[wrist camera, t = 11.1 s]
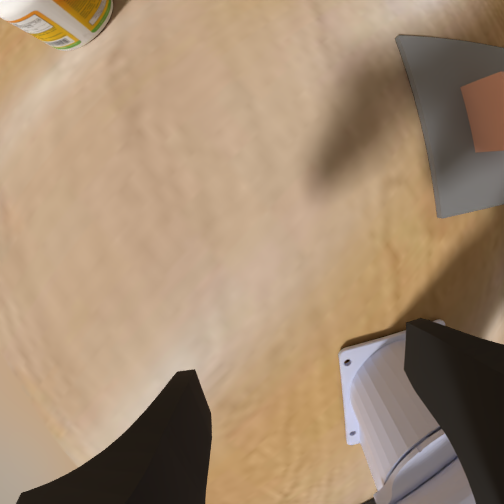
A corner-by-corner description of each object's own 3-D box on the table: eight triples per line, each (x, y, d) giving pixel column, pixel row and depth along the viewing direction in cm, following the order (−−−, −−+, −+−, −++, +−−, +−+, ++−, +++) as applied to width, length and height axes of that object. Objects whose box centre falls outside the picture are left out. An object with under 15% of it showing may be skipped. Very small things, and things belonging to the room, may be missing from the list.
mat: (540, 193, 17) (545, 194, 16) (437, 217, 18) (442, 218, 17) (509, 52, 15) (513, 50, 14) (395, 38, 15) (398, 35, 15)
